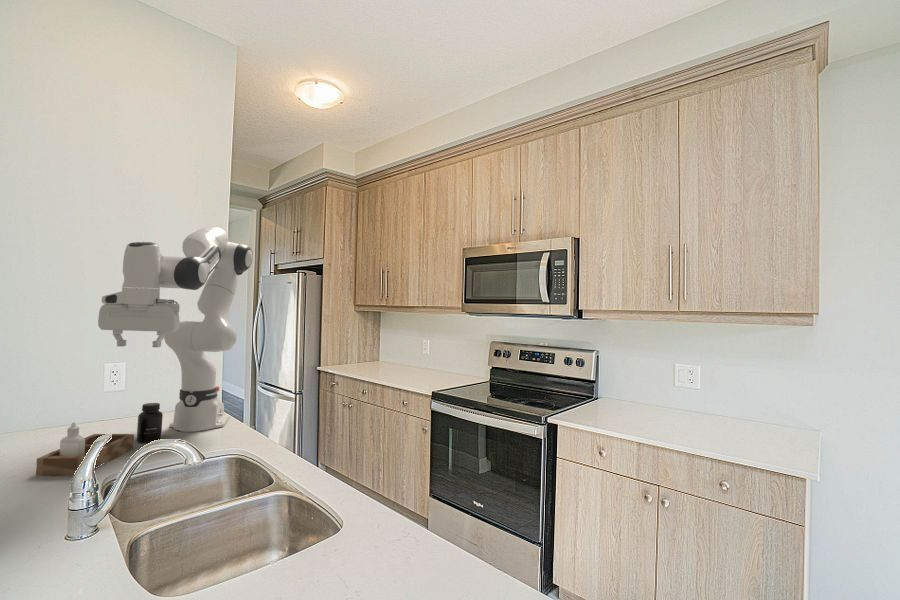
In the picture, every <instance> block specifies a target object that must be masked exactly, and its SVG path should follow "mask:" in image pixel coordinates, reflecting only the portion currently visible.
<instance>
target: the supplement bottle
mask: <svg viewBox="0 0 900 600" xmlns="http://www.w3.org/2000/svg"><path fill="white" fill-rule="evenodd" d="M160 406H161V404H160V403H159V402H147V403H144V404H142V408H141V411H142V412H140V413H139V414H138V416H137V425H136V427H137V428H136V442H137V443H139V444H148V443H149V442H151V441H154V440H158V439H160V440H161V438H162V433H163V432H162V429H163V418H164V417H163V416H164V415H163V412H162V411H160V409H161V408H160ZM158 441H159V440H158ZM151 443H152V442H151ZM149 444H150V443H149Z"/></svg>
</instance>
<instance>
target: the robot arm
mask: <svg viewBox="0 0 900 600" xmlns="http://www.w3.org/2000/svg"><path fill="white" fill-rule="evenodd" d="M181 247H182V252H183V254H184V256H166V255H165V254H163V253H162V252H161V251H160V245H159V244H158V243H156V242H147V241H142V242H141V241H135V242H134V241H133V242H130V243H127V245H126V246H125V251H124V253H123V258H122V259H123V261H122V274H123V283H122V285H121V291H118V292H115V293H111V294H106V295H102V296H101V303H102V305H101V306H100V308H99V312H98V318H97V326H98V327H99V329H100V330H101V331H112V335H113V337H114V339H115V340H116V347H122V348H123V347H126V346H127V339H124V338H123V336H122V334H124V331H131V332H132V331H133V332H156V335H157V338H156V340H153V341H152V343H151V344H152V345H151V346H152V348H161V347H162V341H163V340H164V341H165V345H166V346H168V347H169V349H171V350H172V352H173V353H174V354H175V355H176V357H177V359H178V361H179V365H180V370H181V371H180V372H181V384H180V385H181V388H180V389H179V394H178V396H179V397H178V399H179V401H178V402H177V403H176V404H175V406H174V414H173V422H171V423H169V427H170V428H172V427H173V429H174V430H175V431H177V430H180V431H179V432H200V431H201V430H202V431H208V430H211V429H218V428H224V426H225V425H226V424H227V422H228V421H229V420H230V418H231V415H230V414H228V413H225V404H224V402H222V401H221V400H220V398H218V392H220V388H221V387H220V386H218V385H217V386H216V382H217V381H216V380H217V367H216V366H215V364H214V363H213V362H211V361H209V359H207V357H206V355H205V352H206V353H219V352H220V353H221V352H227V351H229V350H231V349H232V348H233V347H234V346H235V344H236V343H237V335H238V334H237V331H236V329H235V328H234V326H232V324H231V323H230V320H229V313H230V312H229V311H230V309H231V305H232V302H233V300H234V298H235V294H236V291H237V289H238V288H237V286H238V282H239V281H238V280H239V276H241V275H242V274H244V272H247V270H249V268H250V267H251V266H252V263H253V259H254V253H253V250H252V248H251V247H250V246H249V245H246V244H243V243H236V242H232V241H229V236H228V234H227V232H226V231H225V230H224V229H222V228H221V227H218V226H207V227H203V228H200V229H197V230H195V231H193V232H192V233H190V234H189V235H187V236H186V237H185V238H184V239H183V241H182V246H181ZM203 286H204V287H203ZM202 287H203V289H202V290H201V293H200V295H199V298H198V300H197V303H196V304H197V309H198V310H199V312H200V313H201V314H203V315H204V319H203V320H202V321H193V320H192V321H191V320H189V321H188V320H186V321H180V314H179V313H180V304H179V303H178V302H177V301H175V300H174V299H172V298H171V299H170V298H169V299H165V298H161V297H160V296H161V290H160V289H162V288H163V289H184V290H192V291H193V290H194V291H197V290H199V289H200V288H202ZM226 414H228V415H229V416H228V415H226Z"/></svg>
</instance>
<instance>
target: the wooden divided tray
mask: <svg viewBox="0 0 900 600" xmlns="http://www.w3.org/2000/svg"><path fill="white" fill-rule="evenodd" d="M105 434H106V433H93V434H91V435H89V436H87V437H84V438H85V456H86V453H87V452H88V450H89V449H90V447H91V445H92V444H93V442H94V441H95V440H96V439H97V438H98V437H100V436H102V435H105ZM111 434H112V439H111V440H110V441H109V442H108V443H106V444H105V445H104V446H103V448H102V450H101V451H100V453H99V456H98V457H97V460H96V465H95V470H97V469H96V467H98V466H100V465H101V464H103V463H106V462H108V461H109V462H111V461H113V460H115V459H117V458H118V457H120V456H122V455H124V454H125V453H128V452H130V451H131V450H133V449H134V440H135V434H134V433H111ZM59 455H60V448H57V449H56V450H54V451H51V452H49V453H46V454H44V455H42V456H40V457H38V458H36V469H35V470H36V472H35V476H36V475H71V476H73V475H74V473H75V471H76V470H77V468H78V467H79V465H80V464H81V462H82V461H83V459H84V457H85V456H83V457H77V456H59ZM110 460H111V461H110ZM109 462H108V463H109ZM106 464H107V463H106ZM100 467H101V466H100ZM98 468H99V467H98Z"/></svg>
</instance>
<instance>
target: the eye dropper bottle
mask: <svg viewBox="0 0 900 600" xmlns="http://www.w3.org/2000/svg"><path fill="white" fill-rule="evenodd" d="M79 434H80V426H77V425H76V422H74V421H73V422H72V423H71V425H70V427H68V428H67V434H66V435H67V436H64V437H62V438H61V439H60V442H59V449H60V455H59V456H77V457H83V456H85V438H86V437H84V436H82V435H79Z"/></svg>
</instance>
